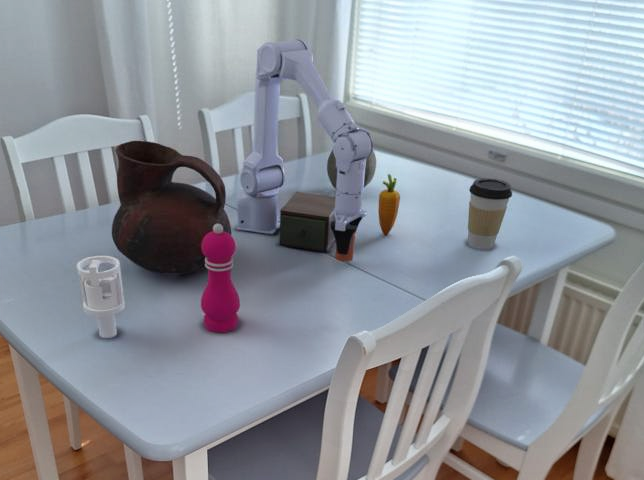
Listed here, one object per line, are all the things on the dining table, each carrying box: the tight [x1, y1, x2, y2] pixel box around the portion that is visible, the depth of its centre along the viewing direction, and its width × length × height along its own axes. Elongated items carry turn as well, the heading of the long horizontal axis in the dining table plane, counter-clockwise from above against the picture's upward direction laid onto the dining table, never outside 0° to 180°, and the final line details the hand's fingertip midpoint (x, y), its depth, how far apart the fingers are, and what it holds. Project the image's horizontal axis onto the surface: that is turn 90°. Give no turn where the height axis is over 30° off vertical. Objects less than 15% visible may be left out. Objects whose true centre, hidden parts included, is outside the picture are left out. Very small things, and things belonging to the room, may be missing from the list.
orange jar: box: [334, 232, 356, 263], centre depth 147 cm, size 4×4×7 cm
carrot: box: [378, 173, 401, 237], centre depth 161 cm, size 5×5×15 cm
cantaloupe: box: [326, 149, 377, 190], centre depth 186 cm, size 14×14×15 cm
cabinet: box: [279, 191, 336, 253], centre depth 160 cm, size 14×12×9 cm
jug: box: [111, 140, 233, 275], centre depth 140 cm, size 25×25×25 cm
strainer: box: [76, 255, 126, 339], centre depth 117 cm, size 7×7×15 cm
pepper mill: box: [200, 224, 241, 333], centre depth 120 cm, size 7×7×20 cm
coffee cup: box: [467, 177, 513, 251], centre depth 159 cm, size 10×10×15 cm
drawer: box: [281, 214, 326, 250], centre depth 158 cm, size 14×10×7 cm
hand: (344, 249), depth 148 cm, fingers closed on orange jar, 4 cm apart
